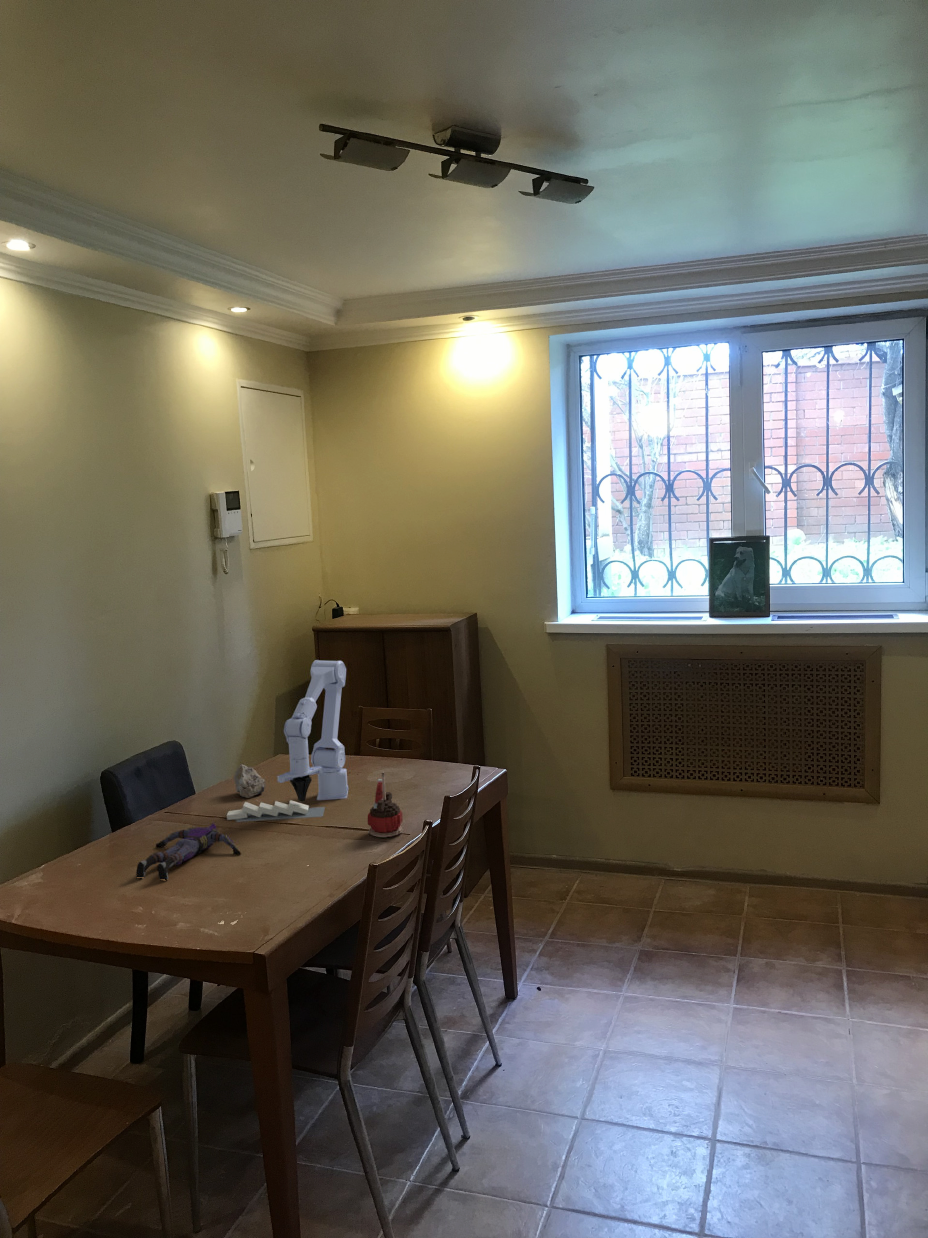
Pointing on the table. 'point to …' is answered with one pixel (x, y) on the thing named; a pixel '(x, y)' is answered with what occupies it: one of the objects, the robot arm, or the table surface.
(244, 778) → the rock
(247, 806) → the domino
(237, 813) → the domino
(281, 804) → the domino
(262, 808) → the domino
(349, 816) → the table surface
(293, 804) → the domino
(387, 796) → the cake
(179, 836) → the figurine
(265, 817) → the mat
